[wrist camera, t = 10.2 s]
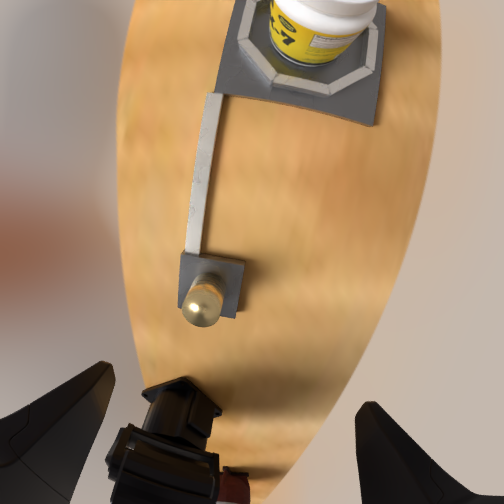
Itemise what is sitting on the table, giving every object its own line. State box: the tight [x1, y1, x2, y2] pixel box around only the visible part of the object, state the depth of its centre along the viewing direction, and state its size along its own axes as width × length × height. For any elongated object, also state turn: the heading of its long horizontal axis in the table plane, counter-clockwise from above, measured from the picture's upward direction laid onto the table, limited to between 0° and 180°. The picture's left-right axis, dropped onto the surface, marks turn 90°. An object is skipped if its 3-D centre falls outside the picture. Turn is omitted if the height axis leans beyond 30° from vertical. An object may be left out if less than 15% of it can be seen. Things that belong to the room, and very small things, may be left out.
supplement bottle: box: [269, 0, 379, 67], centre depth 9 cm, size 5×5×8 cm
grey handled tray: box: [178, 0, 386, 327], centre depth 15 cm, size 25×11×4 cm, turn 170°
